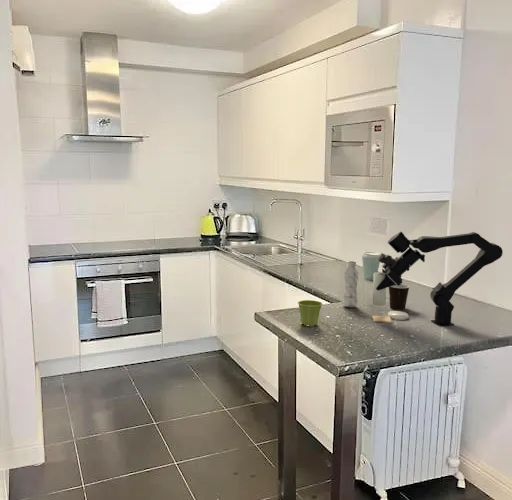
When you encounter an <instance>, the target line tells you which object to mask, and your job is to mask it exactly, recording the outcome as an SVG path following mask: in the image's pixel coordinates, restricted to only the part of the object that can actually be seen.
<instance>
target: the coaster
mask: <svg viewBox="0 0 512 500" xmlns="http://www.w3.org/2000/svg"><path fill="white" fill-rule="evenodd" d="M371 318H372V321H373V323H387V324H392V323H393V320H392V319H391V318H390V317H388V315H385V316H384V315H383V316H381V315H371Z"/></svg>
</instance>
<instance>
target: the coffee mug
mask: <svg viewBox="0 0 512 500" xmlns="http://www.w3.org/2000/svg"><path fill="white" fill-rule="evenodd" d="M409 289H410V286H409V285H408V284H404V283H401V284H400V285H399V286H398V285H397V284H396V285H394V286H390V287H388V297H389V298H388V299H389V308H390V309H391V310H392V311H405V310H406V305H407V300H408V296H409Z"/></svg>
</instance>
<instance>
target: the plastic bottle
mask: <svg viewBox="0 0 512 500" xmlns="http://www.w3.org/2000/svg"><path fill="white" fill-rule="evenodd" d="M359 275H360V274H359V271H358V269H357V262H356V261H347V268H346V269H345V271H344V273H343V277H344V278H343V280H344V290H343V291H344V292H343V297H342V305H343V306H344V307H345V308H356V306H357V305H358V294H357V293H358V292H357V291H358V288H357V287H358V281H359Z"/></svg>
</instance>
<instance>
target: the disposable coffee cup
mask: <svg viewBox="0 0 512 500" xmlns="http://www.w3.org/2000/svg"><path fill="white" fill-rule="evenodd" d="M380 255H381V253H380V252H376V251H368V250H366V251H365V250H364V251H362V254H361V261H362V271H363V277H364V279H365V280H367V281H368V280H369V281H373V277H374V273H376V272H379V268H380V264H381V262H379V260H378V259H379V257H380Z"/></svg>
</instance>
